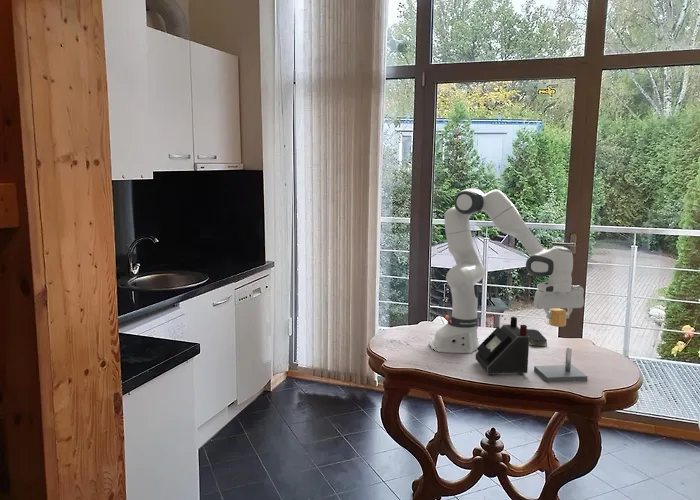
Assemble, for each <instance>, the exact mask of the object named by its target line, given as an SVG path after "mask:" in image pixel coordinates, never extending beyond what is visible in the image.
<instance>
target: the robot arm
mask: <svg viewBox="0 0 700 500" xmlns="http://www.w3.org/2000/svg"><path fill="white" fill-rule="evenodd" d="M453 200H454V201H453V206H454V207H451V208H449V209H447V210H446V211H445V213H444V230H445V238H446V243H447V247H448V251H449V253H450V254H451V255H452V257H453V259H454V261H455V263H456V265H455V264H454V265H453V266H452V267H451V268H450V269H449V270H448V271H447V273H446V276H445V277H446V283H447V285H448V286H449V289H450V292H451V298H452V299H451V300H452V306H451V307H452V312H451V313H452V314H451V315H450V316H449V314H446V315H445V316H444V319H445V320H446V321H447V324H445V325H444V326H442V327H441V328H439V329H438V330H436V331H435V334H434V339H433V340H432V339H431V340H430V341H429V344H430V345H429V344H428V345H429V347H430V346H431V347H430V348H431V350H433V349H434V350H435V352H437V351H438V352H437V353H452V354H453V353H454V354H473V352H474V351H478V350H477V348H478V347H479V346H480V344H479V338H478V327H479V317H478V303H479V302H478V301H479V300H478V298H477V297H476V294H475V285H476V284H478V283H480V281H482V279H483V278H484V276H485V273H486V269H485V266H484V265H483V263H482V262H481V261H480V259H479V256H478V253H477V252H476V249H475V245H474V240H473V235H472V231H471V225H470V217H471V216H474V215H476V214H477V213H479V212H484V213H485V214H486V215H487V216H488V217H489V219H490V220H491V221H492V223H493V224H494V226H495V227H496V229H498V230H499V231H500V232H501V233H502V234H503V235H504V234H505V235H509V236H511V237H514V238H515V239H516V240H517V241H519V242H520V244H521V245H522V247H523V248H524V249H525V250H526V251H527V253H528V254H529V255H530V256H529V257H528V258H527V260H526V263H525V268H526V271H527V273H528V274H530V275H531V276H533V277H548V280H545V281H543V282H539V283H538V284H536V289H537V290H536V291H535V293H534V297H533V306H534V307H535V308H536V309H538V310H541V309H543V310H544V313H545V315H546V319H548V320H549V319H551V318H552V315H551V314H550V310H551V309H556V308H557V309H566V313H567V317H566V319H570V315H571V313H572V312H573V311H574V310H573V309H581V308H583V307H584V304H585V300H584V299H585V298H584V293H585V290H584V288H583V286H581V285H572V284H573V283H572V281H573V278H572V272H573V269H574V256H573V252H572V251H571V250H570V248H567V247H564V246H561V245H560V246H558V245H555V246H553V247H551V248H550V249H548V248H546V247H545V246H544V245H542V243H541V242H540V240H539V239H537V237H536V236H535V235H534V233H533V232H532V231H531V230H530V228H529V227H528V225H527V224H526V222H525V221H524V219H523V217H522V216H521V213H519V211H518V209H517V208H516V207H515V205H514V204H513V202H512V201H511V200H510V199H509V198H508V197H507V196H506V195H505V194H504V193H503V192H502V191H501V190H499V189H493V190H490V191H488V192H487V193H486V192H484V191H483V190H482V189H480V188H474V187H473V188H472V187H471V188H467V189H463V190H461V191H459V192H458V193H457V194H456V195H455V197H454V199H453ZM434 350H433V351H434Z"/></svg>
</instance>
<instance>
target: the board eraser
mask: <svg viewBox="0 0 700 500" xmlns="http://www.w3.org/2000/svg"><path fill="white" fill-rule="evenodd" d="M527 335H528V336H529V346H539V347H547V345H548V343H547V338H546V337H545V336H544V335H543V334H542V333H541V332H540V331H539V330H537V329H533V328H532V329H531V328H530V329H529V328H527Z"/></svg>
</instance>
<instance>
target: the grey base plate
mask: <svg viewBox="0 0 700 500" xmlns="http://www.w3.org/2000/svg"><path fill="white" fill-rule="evenodd" d="M533 371H534V372H535V374H537V375H538V377H541V378H542V379H543V380H544V381H545V382H546V383H569V382H570V383H572V382H574V381H575V382H587V381H588V375H587V374H585V373H584V372H583V371H581V370H580V369H579V368H577V367H576V366H575V365H573V364H571V368H570V372H567V371H565V364H554V365H534V368H533Z"/></svg>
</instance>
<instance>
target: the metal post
mask: <svg viewBox="0 0 700 500" xmlns="http://www.w3.org/2000/svg"><path fill="white" fill-rule="evenodd" d="M572 352H573V349H572V348H570V347H566V349H565V362H564V365H565V371H567V372H570V368H571V365H572Z"/></svg>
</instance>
